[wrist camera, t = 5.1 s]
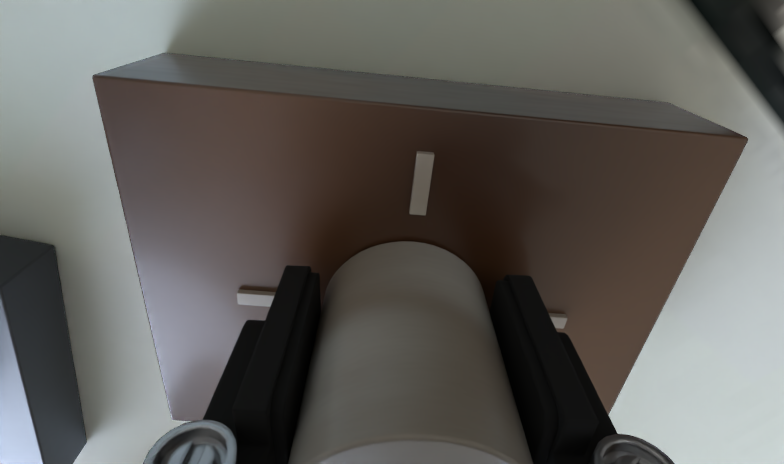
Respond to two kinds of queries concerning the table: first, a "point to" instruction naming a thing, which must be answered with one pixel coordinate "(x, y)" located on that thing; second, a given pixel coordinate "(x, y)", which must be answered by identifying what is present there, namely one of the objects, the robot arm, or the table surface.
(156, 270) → the dial panel
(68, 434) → the button base
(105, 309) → the table surface
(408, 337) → the dial
